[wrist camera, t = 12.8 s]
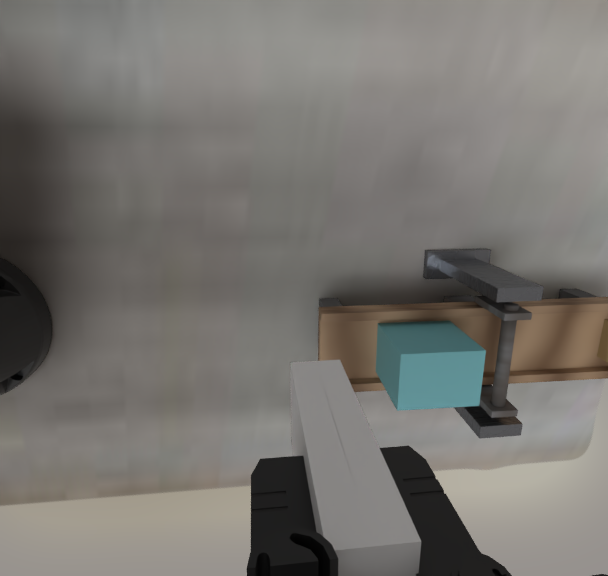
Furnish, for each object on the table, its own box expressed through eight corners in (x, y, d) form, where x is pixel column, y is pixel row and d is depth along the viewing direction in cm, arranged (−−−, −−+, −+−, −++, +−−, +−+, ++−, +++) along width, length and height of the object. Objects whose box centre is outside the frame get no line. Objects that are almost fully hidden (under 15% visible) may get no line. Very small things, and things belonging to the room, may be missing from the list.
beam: (312, 371, 48) (327, 431, 37) (312, 279, 45) (328, 316, 34) (581, 358, 51) (667, 410, 40) (597, 271, 48) (694, 302, 37)
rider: (375, 371, 42) (397, 410, 35) (377, 323, 41) (400, 354, 34) (444, 367, 43) (479, 405, 36) (449, 320, 41) (486, 350, 35)
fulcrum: (415, 384, 51) (462, 448, 39) (425, 250, 46) (481, 278, 35) (471, 380, 52) (534, 442, 40) (486, 248, 47) (562, 275, 36)
